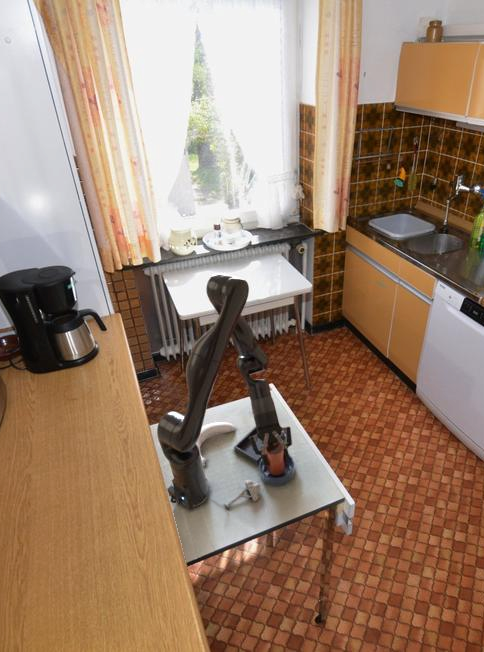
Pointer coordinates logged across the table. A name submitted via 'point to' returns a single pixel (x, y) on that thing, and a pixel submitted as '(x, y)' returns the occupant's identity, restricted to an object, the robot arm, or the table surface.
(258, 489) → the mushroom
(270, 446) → the cup
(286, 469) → the bowl
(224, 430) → the banana
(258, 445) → the tray
